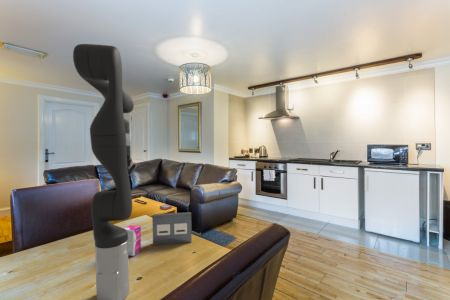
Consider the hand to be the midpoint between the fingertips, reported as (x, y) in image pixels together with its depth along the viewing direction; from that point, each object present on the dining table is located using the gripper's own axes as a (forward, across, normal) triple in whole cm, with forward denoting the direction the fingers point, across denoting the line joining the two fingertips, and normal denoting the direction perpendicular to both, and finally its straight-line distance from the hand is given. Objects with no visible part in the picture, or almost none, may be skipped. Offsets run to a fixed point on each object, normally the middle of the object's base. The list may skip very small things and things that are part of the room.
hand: (121, 187), depth 93 cm
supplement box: (+30, +2, +5) cm, 31 cm away
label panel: (+30, +19, +13) cm, 38 cm away
